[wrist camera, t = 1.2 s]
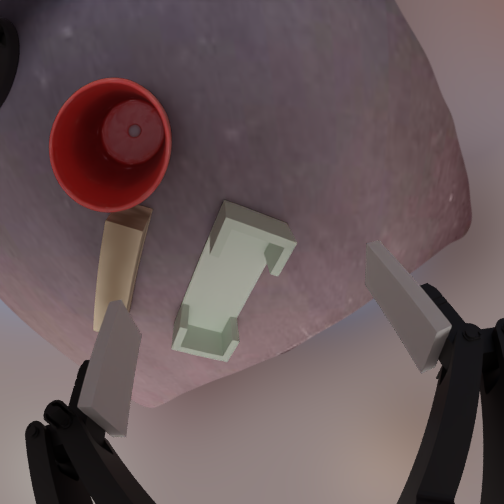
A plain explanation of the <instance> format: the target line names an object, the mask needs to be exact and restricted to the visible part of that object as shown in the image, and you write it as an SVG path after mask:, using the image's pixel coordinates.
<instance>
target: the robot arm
mask: <svg viewBox="0 0 504 504" xmlns="http://www.w3.org/2000/svg"><path fill="white" fill-rule="evenodd" d="M18 58H19V40H18V35H17V32H16V29H15V27H14V26H13V24H12V23H11V22H10V21H8V20H7V19H4V18H0V106H1V105H2V103H3V102H4V100H5V98H6V96H7V94H8V92H9V90H10V88H11V85H12V83H13V80H14V77H15V73H16V69H17V64H18ZM365 285H366V287H367V288H368V290H369V291H370V293H371V294H372V296H373V297H374V299H375V300H376V302H377V303H378V305H379V306H380V308H381V309H382V311H383V313H384V314H385V315H386V317H387V319H388V320H389V322H390V323H391V325H392V326H393V328H394V330H395V331H396V333H397V335H398V336H399V338H400V339H401V341H402V343H403V344H404V346H405V348H406V349H407V351H408V352H409V354H410V356H411V357H412V359H413V361H414V362H415V364H416V366H417V368H418V369H419V371H420V373H424V372H426V371H428V370H430V369H432V368H434V367H435V366H436V364H437V361H438V359H439V361H440V362H441V364H442V367H441V369H440V371H439V373H438V375H437V377H436V379H438V378H439V379H438V384H437V388H436V392H435V396H434V401H433V405H432V408H431V412H430V416H429V419H428V423H427V426H426V429H425V433H424V436H423V439H422V442H421V445H420V448H419V451H418V454H417V456H416V459H415V462H414V465H413V467H412V470H411V472H410V475H409V477H408V480H407V482H406V485H405V487H404V489H403V491H402V494H401V496H400V498H399V500H398V502H397V504H455V503H454V498H455V495H456V492H457V489H458V486H459V483H460V480H461V477H462V473H463V470H464V467H465V463H466V459H467V455H468V451H469V447H470V443H471V438H472V434H473V429H474V424H475V419H476V413H477V406H478V399H479V392H480V394H481V404H482V418H483V444H484V445H483V481H482V493H481V503H480V504H504V318H502V319H500V320H498V322H497V323H496V326H495V327H493V328H487V329H480V328H479V327H477V326H476V325H474V324H471V323H465V322H464V321H463V320H462V318H461V317H460V316H459V315H458V313H457V312H456V311H455V310H454V309H453V307H452V306H451V305H450V304H449V303H448V302H447V300H446V299H445V298H444V297H442V295H441V293H440V292H439V291H438V290H437V289H436V288H435V287H433V286H431V285H429V284H428V283H426V284H423V285H421V286H420V285H419V284H418V283H417V282H416V281H415V280H414V279H413V277H412V276H411V275H410V274H409V273H408V272H407V270H406V269H405V268H404V267H403V266H402V265H401V264H400V263H399V261H398V260H397V259H396V258H395V257H394V256H393V255H392V254H391V253H390V252H389V251H388V249H387V248H386V247H385V246H384V245H383V244H382V243H381V242H380V241H379V240H378V241H374V242H370V243H366V272H365ZM141 337H142V334H141V333H140V331H139V329H138V328H137V326H136V324H135V323H134V321H133V319H132V317H131V316H130V314H129V312H128V310H127V309H126V307H125V305H124V303H123V301H122V300H117V301H112V302H109V305H108V308H107V310H106V313H105V316H104V319H103V322H102V324H101V327H100V330H99V333H98V336H97V339H96V342H95V345H94V349H93V352H92V355H91V358H90V360H85V361H84V362H83V364H82V365H81V367H80V368H79V371H78V374H77V379H76V381H75V386H74V388H73V392H72V395H71V399H70V403H69V406H67V405H66V404H65V403H64V402H63V401H60V400H54V401H52V402H51V403H49V404H48V405H47V407H46V409H45V411H44V420H45V421H46V422H47V423H49V425H46V426H44V425H43V424H42V423H41V422H39V421H33V422H32V423H30V424H29V425H28V427H27V429H26V432H25V440H26V449H27V457H28V463H29V469H30V476H31V481H32V487H33V491H34V496H35V500H36V504H93V502H92V499H93V500H94V502H95V504H156V503H155V502H154V501H153V500H152V498H151V497H150V496H149V495H148V494H147V493H146V491H145V490H144V489H143V488H142V486H141V485H140V484H139V483H138V482H137V480H136V479H135V478H134V476H133V475H132V474H131V472H130V471H129V470H128V469H127V467H126V466H125V464H124V463H123V462H122V461H121V459H120V458H119V456H118V455H117V453H116V452H115V450H114V449H113V447H112V446H111V445H110V443H109V441H108V440H107V439H106V438H105V431H106V432H107V433H108V434H109V435H111V436H112V437H126V433H127V425H128V417H129V409H130V401H131V395H132V388H133V382H134V376H135V370H136V364H137V358H138V353H139V347H140V342H141ZM91 497H92V499H91Z"/></svg>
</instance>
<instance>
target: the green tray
mask: <svg viewBox="0 0 504 504" xmlns="http://www.w3.org/2000/svg"><path fill="white" fill-rule="evenodd" d="M296 244H297V242H296V240H295V238H294V236H293V234H292V232H291V230H290V228H289V226H288V224H287V223H285V222H283V221H280V220H278V219H275V218H272V217H270V216H267V215H264V214H262V213H259V212H257V211H254V210H251V209H249V208H246V207H243V206H241V205H238V204H235V203H232V202H230V201H227V200H224V201H223V204H222V206H221V208H220V211H219V213H218V215H217V218H216V220H215V222H214V225H213V227H212V230H211V232H210V234H209V237H208V239H207V241H206V244H205V246H204V249H203V251H202V254H201V256H200V259H199V261H198V263H197V266H196V268H195V271H194V273H193V276H192V278H191V281H190V283H189V286H188V289H187V291H186V294H185V296H184V299H183V301H182V304H181V307H180V309H179V312H178V314H177V317H176V320H175V322H174V328H173V338H172V347H171V349H173V350H177V351H181V352H185V353H189V354H193V355H197V356H202V357H206V358H211V359H215V360H220V361H225V362H227V361H228V360H229V358H230V357H231V355H232V353H233V352H234V350H235V348H236V347H237V345H238V343H239V342H240V341H239V333H238V325H237V317H238V315H239V313H240V311H241V310H242V308H243V306H244V304H245V302H246V300H247V299H248V297H249V295H250V293H251V291H252V289H253V288H254V286H255V284H256V282H257V280H258V278H259V277H260V275H261V273H262V271H263V269H264V267H265V266H266V264H267V265H268V268H269V272H270V274H272V275H275V276H279V274H280V272H281V271H282V269H283V267H284V266H285V264H286V262H287V260H288V259H289V257H290V255H291V253H292V251H293V250H294V248H295V246H296Z"/></svg>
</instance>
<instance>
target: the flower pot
mask: <svg viewBox="0 0 504 504" xmlns="http://www.w3.org/2000/svg"><path fill="white" fill-rule="evenodd" d="M171 147H172V135H171V127H170V123H169V119H168V117H167V114H166V112H165V110H164V108H163V106H162V105H161V103H160V102H159V101H158V100H157V98H156V97H155V96H154V95H153V94H152V93H151V92H150V91H148V90H147V89H146V88H144V87H143V86H141V85H139V84H138V83H136V82H133V81H131V80H128V79H124V78H104V79H100V80H96V81H93V82H91V83H89V84H87V85H85V86H83V87H82V88H80V89H79V90H77V91H76V92H75V93H74V94H73V95H71V96H70V98H69V99H68V100H67V101H66V102H65V103H64V104H63V106H62V107H61V109H60V111H59V112H58V114H57V116H56V118H55V121H54V123H53V126H52V129H51V133H50V140H49V155H50V161H51V166H52V169H53V172H54V175H55V177H56V179H57V181H58V183H59V184H60V186H61V187H62V189H63V190H64V191H65V192H66V193H67V194H68V196H70V197H71V198H72V199H73V200H74V201H75V202H77V203H78V204H80V205H82V206H84V207H86V208H89V209H91V210H95V211H99V212H119V211H123V210H127V209H130V208H132V207H135V206H136V205H138V204H140V203H141V202H143V201H144V200H146V199H147V198H148V197H149V196H150V195H151V194H152V193H153V192H154V191H155V190H156V188H157V187H158V186H159V184H160V182H161V181H162V179H163V177H164V175H165V172H166V170H167V167H168V164H169V160H170V155H171Z"/></svg>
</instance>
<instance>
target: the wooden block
mask: <svg viewBox="0 0 504 504" xmlns="http://www.w3.org/2000/svg"><path fill="white" fill-rule="evenodd" d="M152 211H153V209H151V208H147V207H144V206H141V205H136V206H135V207H132V208H130V209H127V210H123V211H119V212H111V214H110V215H109V216H108V218H107V219H106V221H105V226H104V232H103V238H102V245H101V252H100V259H99V267H98V276H97V285H96V296H95V309H94V326H93V331H96V332H99V330H100V327H101V324H102V322H103V319H104V316H105V313H106V310H107V308H108V305H109V302H112V301H117V300H122V301H123V303H124V305H125V307H126V309H127V310H128V312H130V307H131V302H132V296H133V291H134V286H135V282H136V277H137V272H138V268H139V263H140V259H141V254H142V250H143V246H144V242H145V238H146V234H147V230H148V226H149V222H150V218H151V215H152Z"/></svg>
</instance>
